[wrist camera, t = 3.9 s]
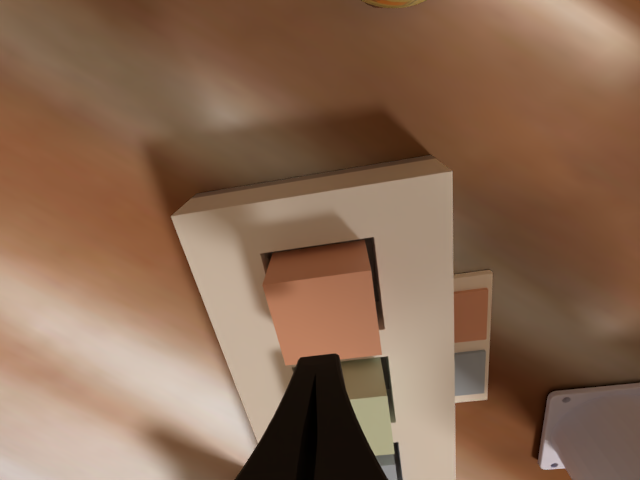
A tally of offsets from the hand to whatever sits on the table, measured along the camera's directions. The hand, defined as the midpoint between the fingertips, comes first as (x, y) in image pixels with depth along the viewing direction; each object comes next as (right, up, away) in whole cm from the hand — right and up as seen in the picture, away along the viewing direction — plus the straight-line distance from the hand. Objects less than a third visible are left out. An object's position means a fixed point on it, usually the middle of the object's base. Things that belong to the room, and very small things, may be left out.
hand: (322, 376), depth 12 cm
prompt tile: (+9, -2, +10) cm, 13 cm away
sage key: (+1, -4, +8) cm, 9 cm away
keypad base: (+1, -3, +10) cm, 11 cm away
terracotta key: (0, +2, +5) cm, 6 cm away
